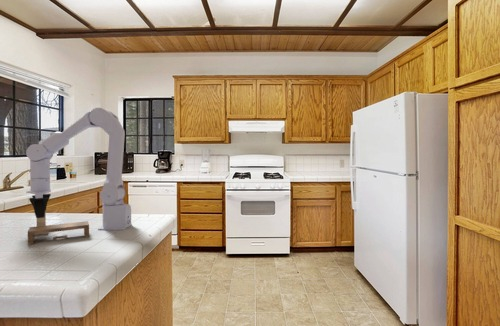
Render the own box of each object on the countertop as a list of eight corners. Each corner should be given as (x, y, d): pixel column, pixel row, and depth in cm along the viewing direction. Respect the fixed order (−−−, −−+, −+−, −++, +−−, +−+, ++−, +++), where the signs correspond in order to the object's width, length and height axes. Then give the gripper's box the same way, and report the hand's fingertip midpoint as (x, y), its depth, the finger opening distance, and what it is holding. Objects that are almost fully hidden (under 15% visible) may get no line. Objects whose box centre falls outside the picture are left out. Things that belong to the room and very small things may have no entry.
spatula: (33, 229, 103) (32, 205, 103) (50, 227, 106) (49, 204, 106) (29, 237, 93) (28, 210, 93) (48, 235, 96) (47, 209, 96)
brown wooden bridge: (87, 232, 99) (87, 221, 99) (89, 236, 94) (89, 224, 94) (30, 239, 90) (29, 227, 90) (27, 244, 85) (27, 231, 85)
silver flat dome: (70, 237, 94) (70, 234, 94) (62, 241, 90) (62, 237, 90) (57, 237, 94) (57, 234, 94) (49, 241, 90) (49, 238, 90)
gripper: (28, 177, 106) (29, 213, 107) (23, 180, 94) (24, 220, 95) (51, 176, 110) (51, 211, 111) (49, 179, 98) (50, 218, 99)
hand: (40, 215), depth 103 cm, fingers open, 7 cm apart
